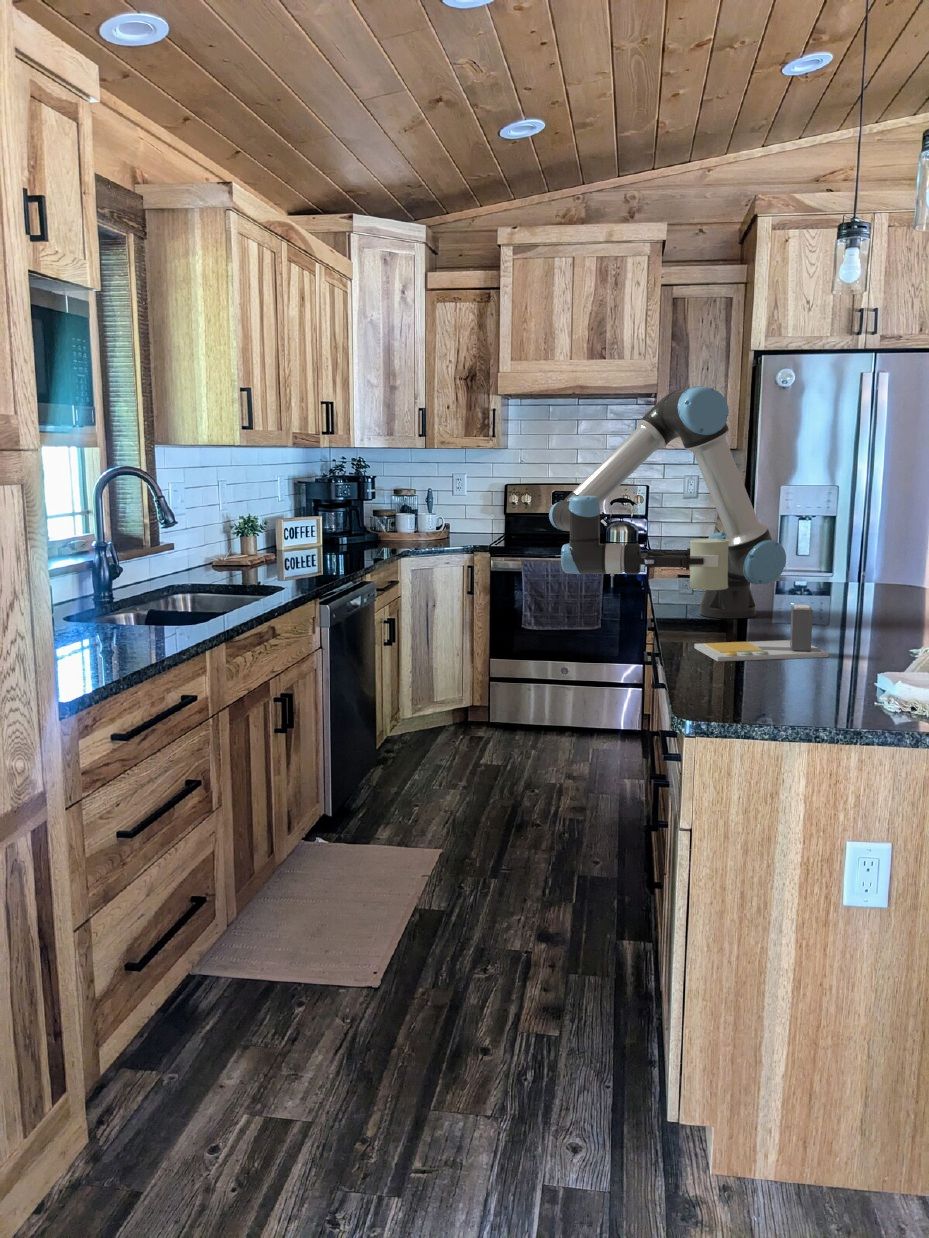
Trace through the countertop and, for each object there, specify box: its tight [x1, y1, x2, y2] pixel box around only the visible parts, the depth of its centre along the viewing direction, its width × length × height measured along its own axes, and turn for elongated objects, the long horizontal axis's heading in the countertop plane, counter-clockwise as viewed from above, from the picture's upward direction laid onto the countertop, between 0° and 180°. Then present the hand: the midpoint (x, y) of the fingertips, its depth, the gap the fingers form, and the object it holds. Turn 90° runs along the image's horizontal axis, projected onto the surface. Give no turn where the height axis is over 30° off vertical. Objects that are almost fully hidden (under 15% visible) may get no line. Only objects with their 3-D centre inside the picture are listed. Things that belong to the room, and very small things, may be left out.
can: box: [688, 538, 729, 591], centre depth 230 cm, size 9×9×12 cm
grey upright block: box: [789, 604, 814, 651], centre depth 209 cm, size 4×5×9 cm
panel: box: [694, 639, 830, 662], centre depth 213 cm, size 25×15×1 cm, turn 96°
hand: (718, 558), depth 229 cm, fingers closed on can, 9 cm apart
